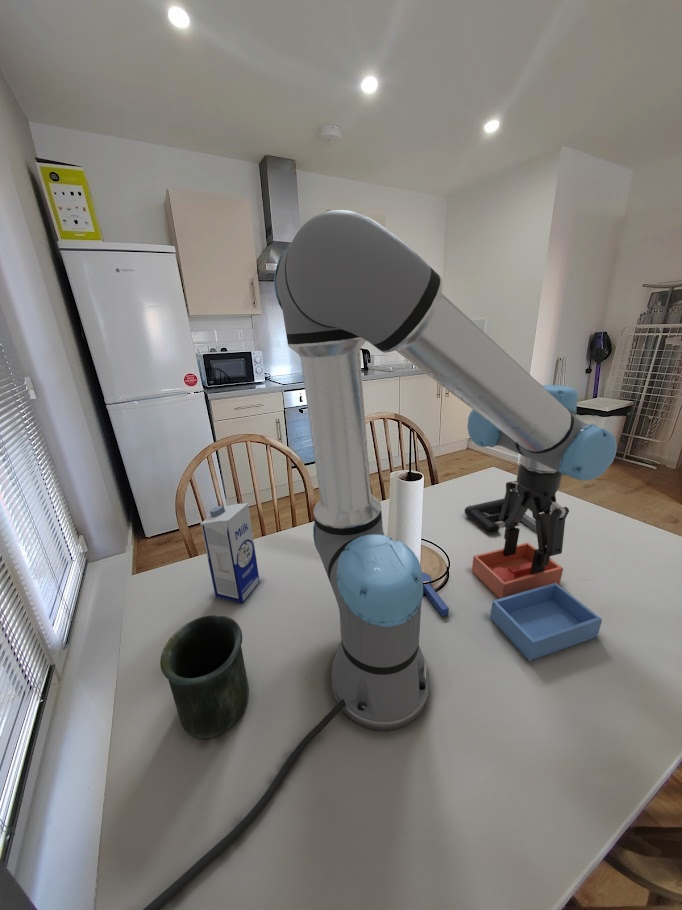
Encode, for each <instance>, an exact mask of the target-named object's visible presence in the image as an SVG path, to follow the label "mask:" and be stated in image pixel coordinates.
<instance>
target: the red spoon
mask: <svg viewBox="0 0 682 910" xmlns="http://www.w3.org/2000/svg"><path fill="white" fill-rule="evenodd" d="M531 566H532V562H531V563H527V564H523V565H520V566H516V567H512V568H509V570H508V569H506V568H502V567H497V568H494V569H493V570H492V571H493V572H494V573H495V574H496V575H497V576H499V577H500V578H501V579H502V580H503V581H504V582H507V581H510V580H514V578H515V577H519V576H522V575H526V574H530V571H531Z"/></svg>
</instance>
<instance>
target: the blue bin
mask: <svg viewBox="0 0 682 910" xmlns="http://www.w3.org/2000/svg"><path fill="white" fill-rule="evenodd" d="M489 619H491V621H492V622H493V623H494V624H495V625H496V626H497V627H498V628H499V629H500V631H501V632H502V633H503V634H504V635H505V636H506V637H507V638H508V639H509V640H510V641H511V643H512V644H513V645H514V646H515V647H516V649H517V650H519V652H520V653H521V654H522V655H523V656H524V657H525V659H527V661H529V662H530V661H534V660H535V659H539V658H542V657H544V656H547V655H550V654H552V653H556V652H558V651H561V650H565V649H567V648H570V647H573V646H576V645H578V644H582V643H584V642H587V641H590V640H593V639H595V638H598V637H599V633H600V628H601V625H602V621H603V618H602V617H600V616H599V615H598V614H596V613H595V612H594V611H592V610H591V609H590V608H589V607H587V606H586V605H585V604H583V603H582V602H581V601H580V600H579V599H578V598H576V597H575V596H574V595H572V594H571V593H570V592H568V591H566V589H564V588H563V586H561V585H560V584H557V583H553V584H549V585H546V586H542V587H539V588H535V589H532V590H528V591H525V592H521V593H518V594H515V595H511V596H508V597H504V598H501V599H499V598H497V599H494V600H492V602H491V609H490V615H489Z"/></svg>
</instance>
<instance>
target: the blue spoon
mask: <svg viewBox="0 0 682 910" xmlns="http://www.w3.org/2000/svg"><path fill="white" fill-rule="evenodd" d="M422 580H423V582H424V581H431V583H430V584H429V583H428V584H424V585H423V594H425V595H426V597H427V598H428V599H429V601H430V602H431V604H432V605H433V606H434V608H435V609H436V610H437V612H438V613H439V614H440V616H441V617H445V616H448V615H449V612H450V611H449V610H450V608H449V607H448V605H447V604H446V603H445V601H444V600H443V598H441V596H440V595H439V594H438V592H436V590H435V589H434V588H433V586H432V578H431V576H430V575H429V574H428V573H425V572H422Z"/></svg>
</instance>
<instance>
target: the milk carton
mask: <svg viewBox="0 0 682 910" xmlns="http://www.w3.org/2000/svg"><path fill="white" fill-rule="evenodd" d="M209 514H210V515H209V516H208V517H207V518H206V519H204V520H203V521H202V522H200V523H199V524H200V528H201V532H202V538H203V543H204V547H205V551H206V557H207V561H208V567H209V572H210V576H211V581H212V586H213V591H214V595H215V596H214V597H215V598H219V599H221V600H226V601H231V602H235V603H239V604H244V602H245V601H246V600H247V599H248V597H249V596H250V595H251V594H252V593H253V591H254V590H255V589H256V587H258V585H259V584H260V581H261V580H260V575H259V568H258V561H257V555H256V548H255V547H256V546H255V541H254V533H253V528H252V527H253V525H252V521H251V513H250V506H249V503H235V504H230V505H222V504H221V505H218V506H215V507H213V508H211V509H210V510H209Z"/></svg>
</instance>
